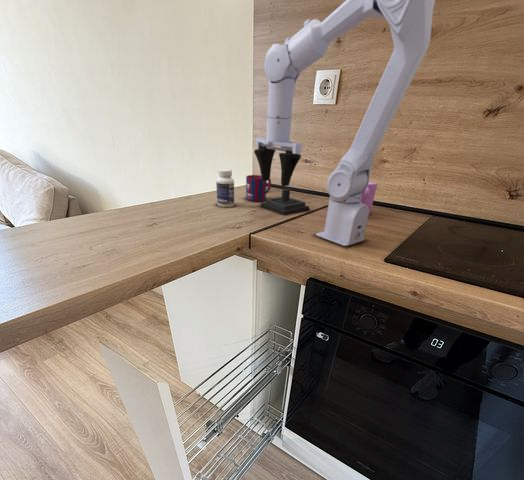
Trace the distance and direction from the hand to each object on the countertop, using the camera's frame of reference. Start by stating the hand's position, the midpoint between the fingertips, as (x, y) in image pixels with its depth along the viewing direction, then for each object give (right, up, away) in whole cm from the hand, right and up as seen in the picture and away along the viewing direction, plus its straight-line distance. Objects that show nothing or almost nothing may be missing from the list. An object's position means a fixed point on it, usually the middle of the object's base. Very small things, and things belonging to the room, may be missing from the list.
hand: (275, 182), depth 80 cm
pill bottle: (-15, +2, +16) cm, 22 cm away
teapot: (+23, 0, +16) cm, 28 cm away
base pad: (+4, +1, +16) cm, 17 cm away
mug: (-4, +8, +25) cm, 26 cm away
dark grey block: (+4, +2, +16) cm, 16 cm away
